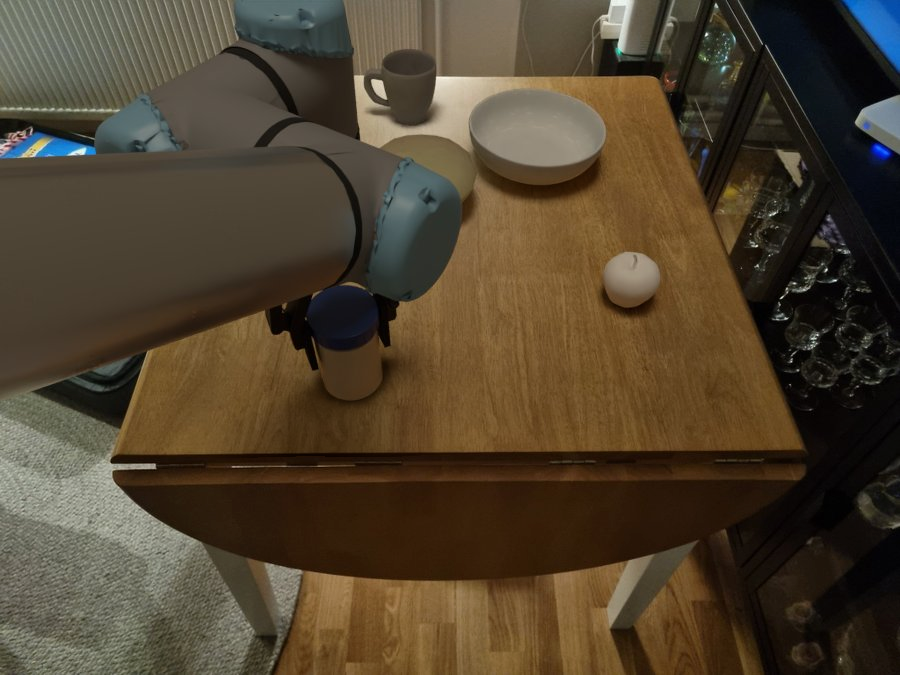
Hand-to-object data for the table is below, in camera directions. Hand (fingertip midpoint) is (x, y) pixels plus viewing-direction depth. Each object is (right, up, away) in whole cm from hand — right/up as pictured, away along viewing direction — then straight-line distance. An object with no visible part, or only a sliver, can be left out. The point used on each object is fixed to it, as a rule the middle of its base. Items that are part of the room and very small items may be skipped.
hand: (348, 349), depth 72 cm
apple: (+34, +6, +13) cm, 37 cm away
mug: (+3, +39, +39) cm, 55 cm away
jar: (0, -3, +4) cm, 5 cm away
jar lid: (0, +4, -5) cm, 6 cm away
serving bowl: (+25, +29, +31) cm, 49 cm away
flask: (+7, +20, +23) cm, 31 cm away
